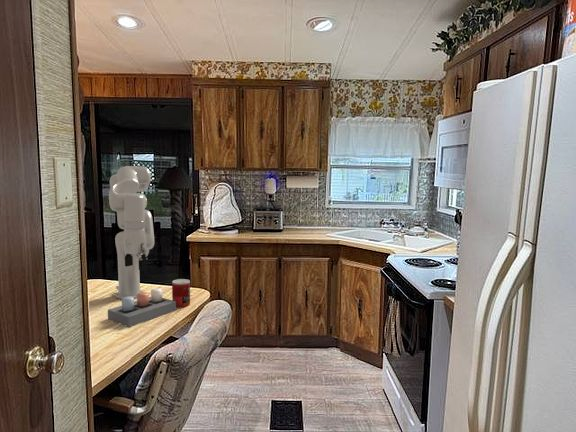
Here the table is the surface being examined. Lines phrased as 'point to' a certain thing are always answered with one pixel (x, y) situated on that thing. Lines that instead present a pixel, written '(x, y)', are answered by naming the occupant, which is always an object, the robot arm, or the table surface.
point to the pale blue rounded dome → (127, 303)
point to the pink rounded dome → (142, 299)
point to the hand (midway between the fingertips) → (135, 267)
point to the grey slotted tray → (141, 312)
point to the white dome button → (156, 295)
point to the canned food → (181, 292)
